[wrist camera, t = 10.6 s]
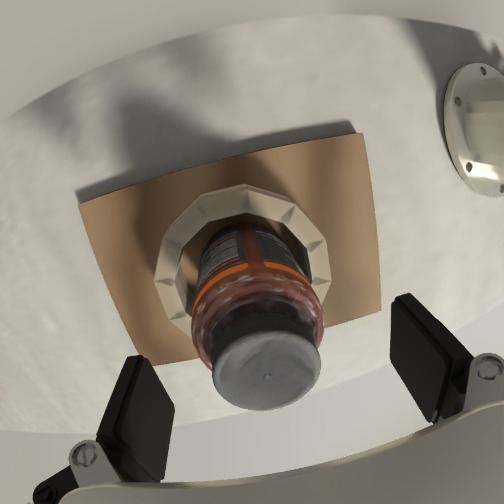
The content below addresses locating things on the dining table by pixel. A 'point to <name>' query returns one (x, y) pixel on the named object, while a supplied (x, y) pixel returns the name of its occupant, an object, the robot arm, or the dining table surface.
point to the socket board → (229, 212)
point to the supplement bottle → (256, 319)
